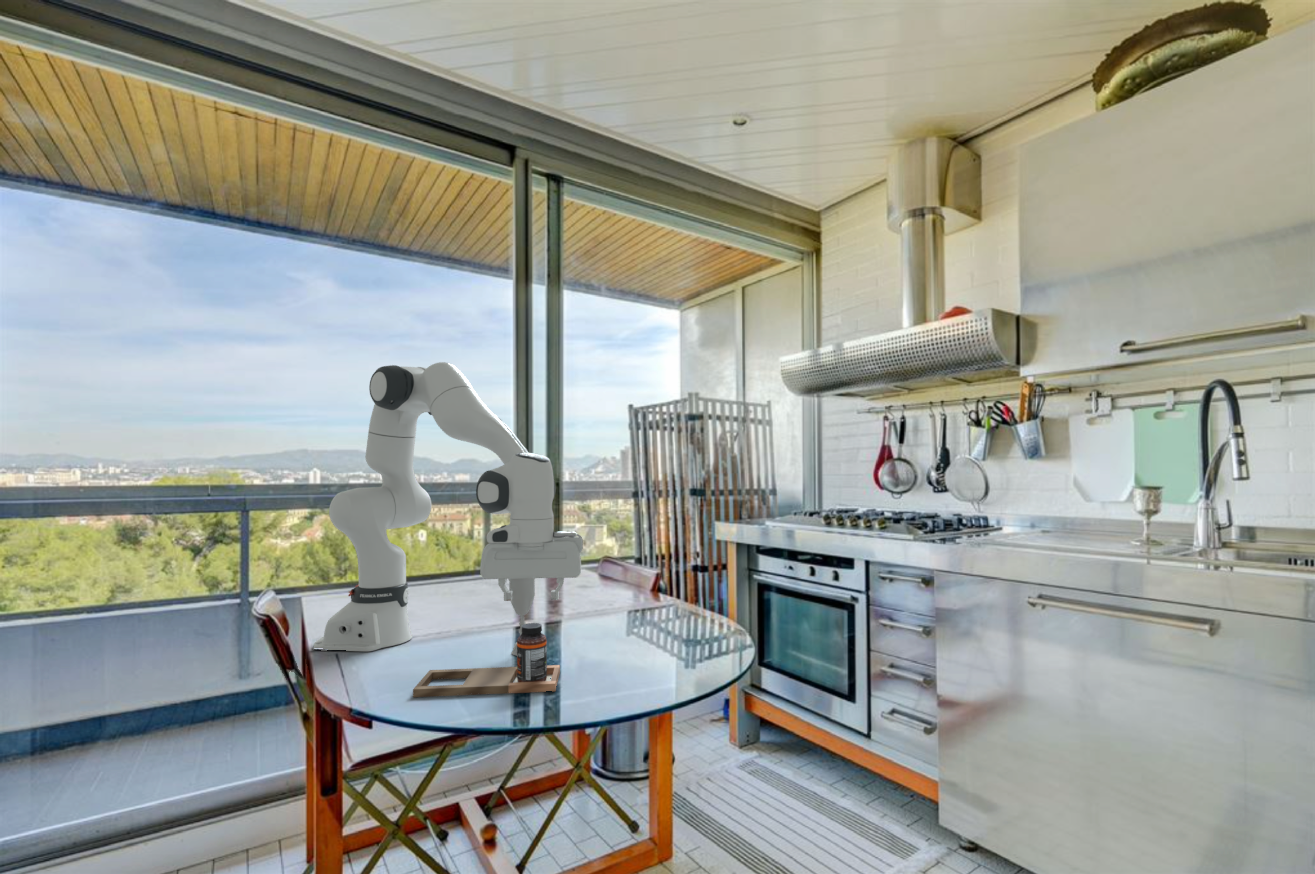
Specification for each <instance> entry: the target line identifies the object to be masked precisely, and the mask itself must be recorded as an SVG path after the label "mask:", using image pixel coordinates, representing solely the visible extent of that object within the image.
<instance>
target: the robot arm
mask: <svg viewBox="0 0 1315 874" xmlns="http://www.w3.org/2000/svg"><path fill="white" fill-rule="evenodd" d="M369 395H370V398H371V399H372V402H373V403H374V405H373V408H372V412H371V416H370V420H369V425H368V432H367V433H368V434H367V439H366V440H367V441H366V448H365V449H366V450H365V462H366V464H367V466H369V468H371V469H372V470H373V471H374V472H376V473H378V474H380V475H381V480H382V483H381V486H373V487H372V486H371V487H355V488H351V489H348V490H342V491H341V492H337V493H336V495H335V496H334V497H333V498H332V500H331V501H330V504H329V508H328V516H329V519H330V522H331V523H332V525H333V526H334V527H335V528H336V529H337V530H339V532H341V533H343V534H344V535H346V537H347V538H348V539H349V541H350V542H351V543H352V545H353V547H354V549H355V553H356V558H357V568H358V569H357V570H358V573H357V574H358V584H356V585H355V586H354V587H353V588H352V589H351V590H350V591H348V595H347V596H348V597H350V602H348V603H347V604H346V605H344V606H343V607H342V608H341V609H339V610H338V611H337V612H336V613H334V614H333V615H332V616H330V618H328V620H327V622H326V623H325V624H326V625H325V627H324V631H323V632H324V634H323V637H320V638H318V639H317V640H316V641H315V642H314V643H313V646H314V648H323V649H328V650H346V651H345V652H372V651H373V652H374V651H377V650H380V649H383V648H389V647H392V646H398V645H400V644H401V645H402V644H404V643H406V642H408V641H410V640H412V639H413V633H412V629H411V626H410V621H409V620H410V619H409V613H408V603H409V602H408V601H409V586H408V585H409V584H408V582H407V555H406V552H405V551H404V549H403V548H402V547H401V546H398V545H397V544H394V543H392V542H391V541H390V540H389V537H388V535H387V534H388V533H387V530H392V529H400V528H401V529H402V528H408V527H412V526H415V525H418V524H422V523H424V522H425V521H427V520H428V518H429V517H430V514H431V512H432V506H433V505H432V499H431V497H430V494H429V493H428V491H427V490H425V489H424V488H423V487H422V486H421V485H420V483H419V481H418V480H417V477H416V474H415V471H414V452H415V442H416V434H417V425H418V424H417V423H418V418H419V417H420V416H421V415H422V414H424V413H428V415H430V416H432V417H433V420H434V422H435V423H436V425H437V426H438V427H439V428H440V430H442V432H443V433H444V434H445V435H447V436H448V437H449V438H452V439H455V440H458V441H462V442H467V443H471V444H474V445H476V446H481V447H482V448H486V449H488V450H489V451H491V452H493V453H494V454H495V455H496V456H497V457H498V458H499V460H501V462H502V463H503V465H500V466H498V467H495V468H493V469H490V470H489V469H488V470H486V471H485V472H483V473H482V474H481V475H480V477H479V479H478V480H477V483H476V487H475V497H476V500H477V503H478V505H479V506H480V508H481V509H482V510H483V511H484V512H485V513H488V514H493V515H494V514H495V515H501V514H503V515H504V514H509V515H510V516H509V523H508V524H507V525H506V524H504V525H502V526H499V527H497V528H494V529H492V530H490V531H489V532H488V533H487V534H486V542H487V544H486V545H485V546H484V548H483V550H482V552H481V559H480V573H479V574H480V575H481V577H482V578H483V580H497V581H498V582H497V583H498V584H497V585H498V586H499V587H500V590H501V591H502V593H503V602H511V601H512V591H509V589H508V586H507V585H506V583H507V582H508V580H509V579H523V578H535V579H556V584H558V585H557V587H556V588H555V589H551V591H550V600H551V601H558V600H559V599H560V594H559V593H560V590H561V589H562V587H563V585H564V583H565V579H573V578H574V579H575V578H578V577H579V576H580V575H581V573H582V560H581V553H582V551H583V550H584V549H583V548H584V539H583V536H581V535H580V534H579V533H577V532H576V531H555V530H554V528H555V523H554V522H555V515H554V511H553V500H554V499H555V496H556V483H555V480H554V479H555V478H554V470H553V469H554V468H553V465H552V462H551V459H550V458H549V457H548V456H546V455H543V454H540V453H533V452H529V451H528V449H527V448H526V447H525V446H524V445H523V443H522V442H521V440H520V439H519V438H518V436H517V435H516V434H515V432H513V430H512V429H511V428H510V427H509V425H508V424H506V423H505V422H504V421H503V419H501V418H500V417H498V416H497V415H496V414H495V413H494V412H493V411H492V410H491V409H490V408H489V407H488V406H487V405H486V404H485V403H484V401H483V400H482V399H481V397H480V396H479V394H478V393H477V392H476V390H475V389H474V387H473V385H472V383H470V381H469V380H468V379H467V377H466V376H465V375H464V374H463V373H462V371H461V370H459V369H458V368H457V366H455V364H452V363H450V362H445V361H440V362H435V363H433V364H430V366H428V367H421V366H416V367H415V366H398V365H395V364H394V365H393V364H392V365H391V364H390V365H385V366H380V367H378V368H377V369H376V370H375V371H374V372H373V374H372V375H371V378H370V381H369Z"/></svg>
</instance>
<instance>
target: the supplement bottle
mask: <svg viewBox="0 0 1315 874" xmlns="http://www.w3.org/2000/svg"><path fill="white" fill-rule="evenodd" d="M542 627H543V626H542V624H541V623H540V622H528V623H525V624H524V625H522V634H521V636H520V635H519V636H518V637H517V640H516V642H517V656H516V667H517V680H518V682H539V681H545V680H546V678H547V666H548V663H547V661H548V660H547V659H548V658H547V657H548V654H547V652H548V649H547V648H548V647H547V646H548V644H547V643H548V642H547V640H548V639H547V637H546V635H545V634H544V633H543V632H542V631H543V628H542Z"/></svg>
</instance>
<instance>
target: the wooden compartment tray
mask: <svg viewBox="0 0 1315 874" xmlns="http://www.w3.org/2000/svg"><path fill="white" fill-rule="evenodd" d="M560 674H561V665H560V664H552V665H549V664H547V678H546V680H545V681H539V682H518V680H517V666H502V667H499V666H498V667H475V668H454V669H453V668H451V669H450V668H449V669H448V668H447V669H429V671H428V672H426V674H425V675H424V676H423V677H422V678H421V679H420V681H419V682H418V683H417V684H416V685H415V687H413V689H412V697H413V698H430V697H431V698H432V697H453V696H478V695H498V694H499V695H500V694H501V695H504V694H525V693H526V694H527V693H547V692H546V691H552V692H556V691H557V687H556V686H558V683H559V678H560ZM550 678H551V679H550ZM457 679H459V680H460V679H465V681H464V682H463V684H447V685H430V684H431V682H432V681H434V680H435V681H436V680H457Z"/></svg>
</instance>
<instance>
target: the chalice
mask: <svg viewBox="0 0 1315 874" xmlns="http://www.w3.org/2000/svg"><path fill="white" fill-rule="evenodd" d="M508 581H509V584H508V587H509V589H508V591H512V601H510V604H511V606H512V608H513V611H514V612H515V614H516V615H518V616H519V619H520V620H519V622H518V625H519V627H520V628H519V630H518V633H519V636H521V634H522V625H524V624H526V622H525V615H527V614H528V613H529V611H530V609H531V607H532V605H533V602H534V600H535V596H536V593H535V588H536V587H535V582H536V578H523V579H508ZM510 655H513V656H516V657H517V641H516V642H515V643H514V645H513V648H512V651H511V654H510Z"/></svg>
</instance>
